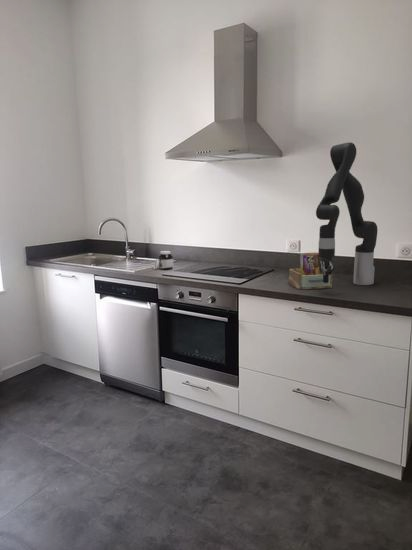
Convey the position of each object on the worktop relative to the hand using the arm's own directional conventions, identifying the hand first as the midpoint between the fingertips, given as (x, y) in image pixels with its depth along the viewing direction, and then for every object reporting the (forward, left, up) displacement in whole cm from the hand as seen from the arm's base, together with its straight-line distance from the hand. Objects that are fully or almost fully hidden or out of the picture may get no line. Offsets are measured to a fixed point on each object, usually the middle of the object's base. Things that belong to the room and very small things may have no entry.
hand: (325, 282), depth 199 cm
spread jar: (+73, -83, -6) cm, 111 cm away
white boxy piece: (0, -15, -4) cm, 16 cm away
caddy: (0, -17, -5) cm, 18 cm away
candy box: (0, -19, -4) cm, 19 cm away
